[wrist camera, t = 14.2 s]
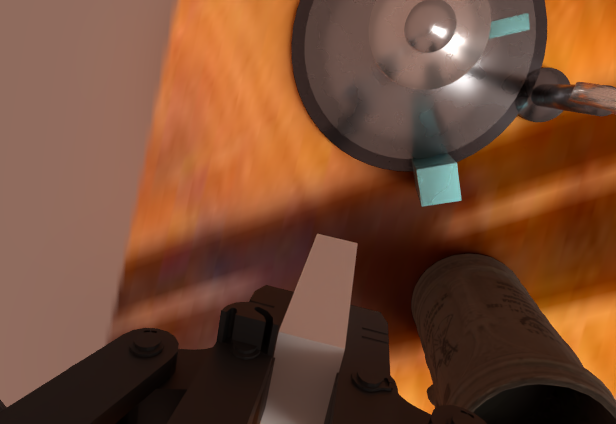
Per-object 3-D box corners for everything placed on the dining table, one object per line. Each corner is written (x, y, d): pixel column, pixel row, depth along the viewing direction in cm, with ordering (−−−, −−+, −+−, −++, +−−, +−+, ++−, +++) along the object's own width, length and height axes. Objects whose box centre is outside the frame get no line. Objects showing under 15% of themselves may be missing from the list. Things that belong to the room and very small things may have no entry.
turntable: (288, -38, 36) (271, -60, 31) (517, -104, 33) (547, -143, 27) (336, 206, 42) (330, 226, 36) (538, 173, 38) (567, 190, 32)
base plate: (334, 196, 43) (333, 198, 42) (260, -29, 38) (257, -32, 37) (565, 129, 38) (569, 130, 37) (513, -140, 33) (516, -145, 32)
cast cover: (441, 104, 36) (455, 110, 29) (353, 63, 36) (347, 59, 29) (493, 6, 33) (522, -12, 27) (398, -38, 33) (403, -67, 27)
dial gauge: (552, 127, 38) (652, 154, 24) (502, 112, 38) (573, 131, 24) (576, 76, 36) (697, 73, 23) (524, 61, 37) (613, 49, 23)
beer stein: (428, 233, 42) (468, 358, 23) (542, 259, 41) (680, 410, 22) (390, 364, 47) (398, 557, 28) (491, 390, 46) (570, 607, 27)
